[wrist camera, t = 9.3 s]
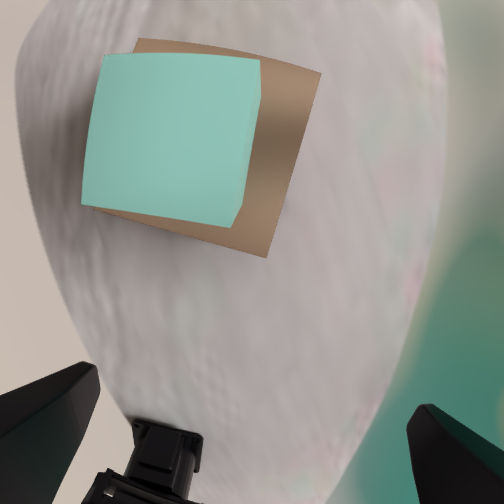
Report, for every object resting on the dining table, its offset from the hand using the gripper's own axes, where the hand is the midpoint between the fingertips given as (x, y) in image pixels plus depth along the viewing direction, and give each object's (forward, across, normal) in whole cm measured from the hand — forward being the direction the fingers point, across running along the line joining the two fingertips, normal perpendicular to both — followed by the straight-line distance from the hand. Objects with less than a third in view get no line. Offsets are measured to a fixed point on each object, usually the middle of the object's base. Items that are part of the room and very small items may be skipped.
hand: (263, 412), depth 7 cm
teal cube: (+8, +4, -6) cm, 11 cm away
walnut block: (+12, +4, -7) cm, 14 cm away
